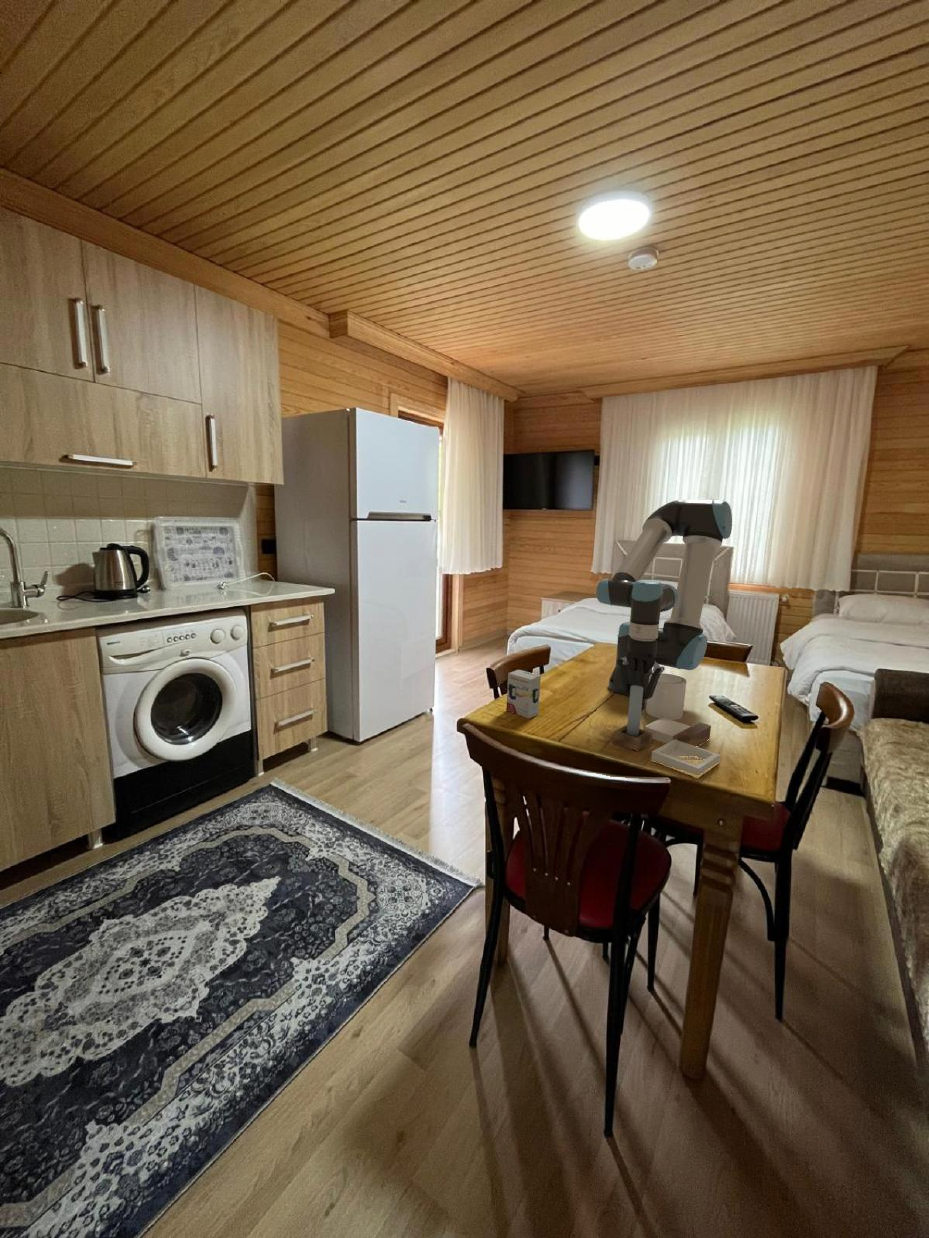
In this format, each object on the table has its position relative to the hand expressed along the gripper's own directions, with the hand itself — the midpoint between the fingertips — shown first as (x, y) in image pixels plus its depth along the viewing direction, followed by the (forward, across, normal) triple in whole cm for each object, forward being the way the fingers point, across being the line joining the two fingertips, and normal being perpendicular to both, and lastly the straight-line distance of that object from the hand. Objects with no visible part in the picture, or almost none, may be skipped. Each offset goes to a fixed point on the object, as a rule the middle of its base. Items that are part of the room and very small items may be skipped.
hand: (635, 719), depth 149 cm
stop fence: (+1, +17, -1) cm, 17 cm away
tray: (+1, +20, -13) cm, 24 cm away
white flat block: (+2, +10, -1) cm, 10 cm away
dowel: (+1, +6, -12) cm, 14 cm away
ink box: (+1, -26, -18) cm, 32 cm away
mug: (+2, +2, +14) cm, 14 cm away
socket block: (+1, +6, -12) cm, 14 cm away
